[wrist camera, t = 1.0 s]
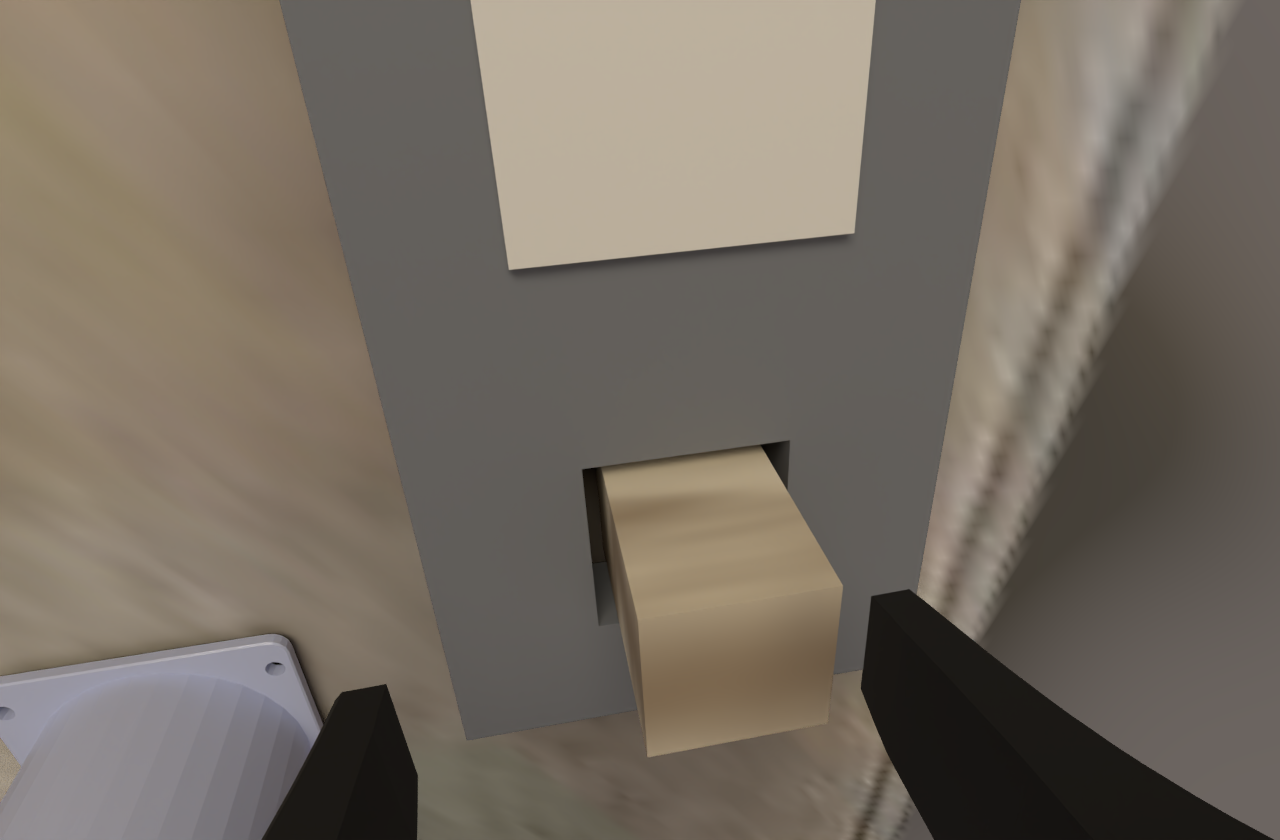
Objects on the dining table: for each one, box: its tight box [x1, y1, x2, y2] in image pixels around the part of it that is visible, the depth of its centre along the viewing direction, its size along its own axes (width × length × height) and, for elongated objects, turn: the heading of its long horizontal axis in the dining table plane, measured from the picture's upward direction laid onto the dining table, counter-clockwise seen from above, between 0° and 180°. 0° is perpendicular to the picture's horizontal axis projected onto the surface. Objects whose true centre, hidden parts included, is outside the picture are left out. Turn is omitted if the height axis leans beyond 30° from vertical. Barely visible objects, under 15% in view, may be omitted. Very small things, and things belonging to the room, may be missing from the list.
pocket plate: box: [279, 0, 1021, 740], centre depth 18 cm, size 22×13×3 cm, turn 3°
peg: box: [596, 444, 843, 757], centre depth 19 cm, size 4×4×7 cm
